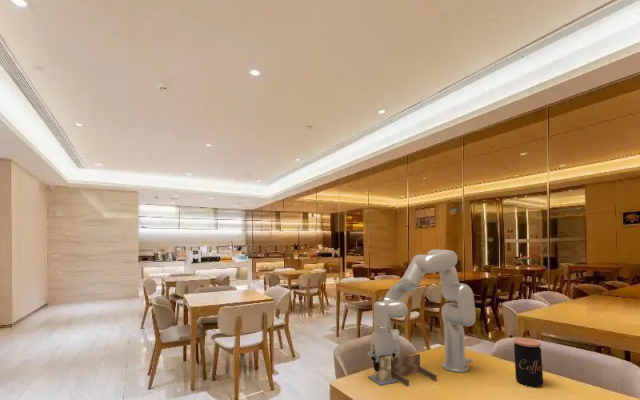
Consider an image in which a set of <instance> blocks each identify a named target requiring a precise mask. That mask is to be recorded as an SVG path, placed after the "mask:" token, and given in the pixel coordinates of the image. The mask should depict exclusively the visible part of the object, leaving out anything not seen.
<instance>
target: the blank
mask: <svg viewBox="0 0 640 400" xmlns="http://www.w3.org/2000/svg"><path fill="white" fill-rule="evenodd" d="M378 363H379V372H377V371H375V375H376V378H378V379H379V380H381V381H386V380H391V356H389V355H384V356H379V359H378Z"/></svg>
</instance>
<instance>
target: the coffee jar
mask: <svg viewBox="0 0 640 400" xmlns="http://www.w3.org/2000/svg"><path fill="white" fill-rule="evenodd" d="M513 343H514V344H513V349H514V350H513V352H514V353H513V354H514V368H515V369H514V370H515V380H516V381H517V383H519V384H520V385H522V384H523V385H522V386H524V385H527V386H526V387H528V386H533V387H532V388H540V387H539V386H541V385H542V386H543V384H544V377H543V376H544V373H543V359H542V349H541V347H542V346H541V345H542V344H541V342H540V341H537V340H536V339H535V340H534V339H532V338H523V337H522V338H519V337H517V338H514V339H513ZM542 386H541V387H542Z"/></svg>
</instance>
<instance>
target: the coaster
mask: <svg viewBox="0 0 640 400" xmlns="http://www.w3.org/2000/svg"><path fill="white" fill-rule="evenodd" d="M367 378H368V379H370V380H371V381H373V383H376V385H378V386H386V385H392V384H396V383H399V382H400V381H398V380H397V379H395V378H393V377H392V376H391V380H386V381H381V380H379V379H378V378H376V374H374V375H368V376H367Z"/></svg>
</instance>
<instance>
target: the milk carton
mask: <svg viewBox="0 0 640 400" xmlns="http://www.w3.org/2000/svg"><path fill="white" fill-rule="evenodd" d="M391 332H392V336H393V342H394V347H395V348H396V349H397V350H398V351H397V353H396V354H395V357H401V355H400V354H401V352H400V351H401V349H400V345H401V344H400V329H394V328H392V329H391ZM395 357H394V358H395Z"/></svg>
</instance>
